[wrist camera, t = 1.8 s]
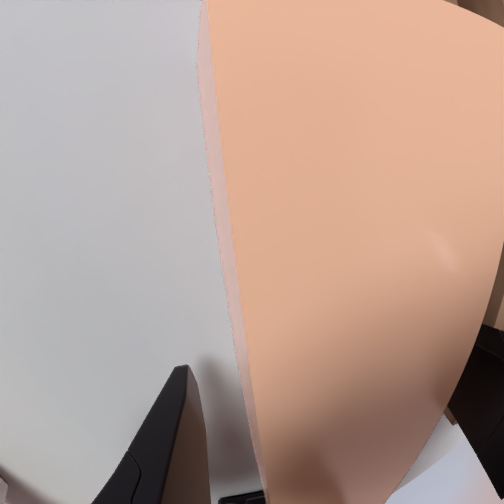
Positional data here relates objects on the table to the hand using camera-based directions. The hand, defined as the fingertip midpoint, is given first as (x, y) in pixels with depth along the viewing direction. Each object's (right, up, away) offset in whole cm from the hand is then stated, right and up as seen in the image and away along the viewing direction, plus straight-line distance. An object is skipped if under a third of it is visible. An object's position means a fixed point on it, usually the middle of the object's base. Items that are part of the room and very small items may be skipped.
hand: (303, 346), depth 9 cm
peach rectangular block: (0, +1, +2) cm, 2 cm away
